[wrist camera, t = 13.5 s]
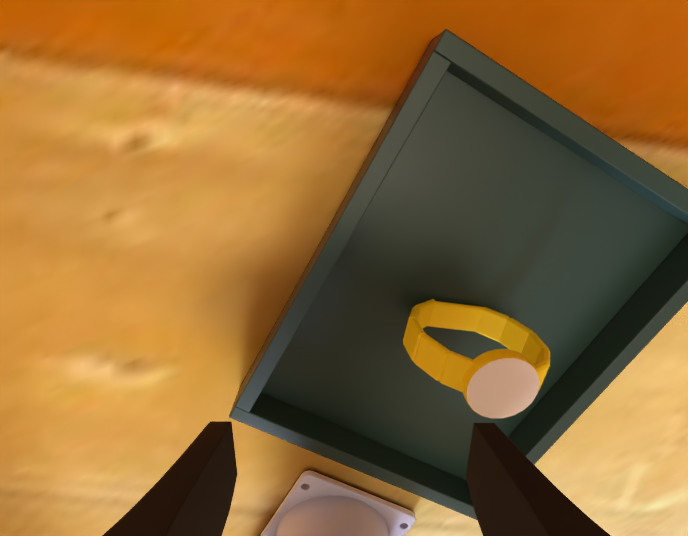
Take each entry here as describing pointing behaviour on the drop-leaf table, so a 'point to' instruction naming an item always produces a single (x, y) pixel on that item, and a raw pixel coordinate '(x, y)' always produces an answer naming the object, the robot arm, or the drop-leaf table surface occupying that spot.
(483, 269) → the tray
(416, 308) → the watch
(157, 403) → the drop-leaf table surface
